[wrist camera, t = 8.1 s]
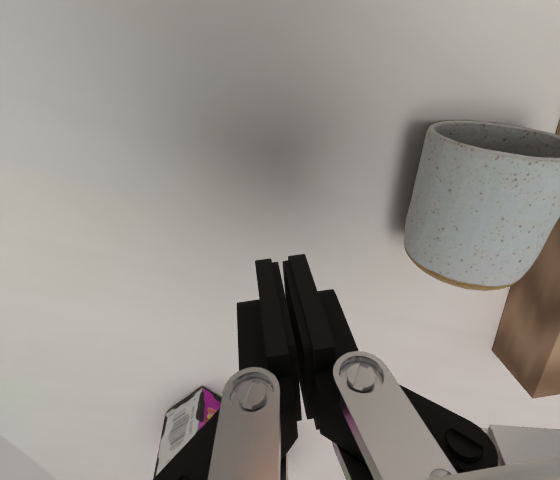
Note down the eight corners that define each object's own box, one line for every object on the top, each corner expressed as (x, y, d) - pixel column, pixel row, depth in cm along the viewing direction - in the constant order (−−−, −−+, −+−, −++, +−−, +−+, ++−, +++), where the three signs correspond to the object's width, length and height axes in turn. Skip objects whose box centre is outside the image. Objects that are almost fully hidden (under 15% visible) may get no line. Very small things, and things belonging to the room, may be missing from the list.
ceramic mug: (381, 239, 25) (437, 308, 18) (404, 118, 21) (485, 151, 14) (517, 233, 26) (615, 296, 20) (561, 119, 22) (703, 150, 16)
